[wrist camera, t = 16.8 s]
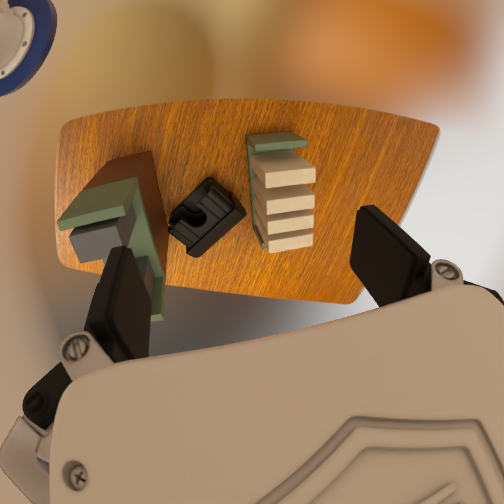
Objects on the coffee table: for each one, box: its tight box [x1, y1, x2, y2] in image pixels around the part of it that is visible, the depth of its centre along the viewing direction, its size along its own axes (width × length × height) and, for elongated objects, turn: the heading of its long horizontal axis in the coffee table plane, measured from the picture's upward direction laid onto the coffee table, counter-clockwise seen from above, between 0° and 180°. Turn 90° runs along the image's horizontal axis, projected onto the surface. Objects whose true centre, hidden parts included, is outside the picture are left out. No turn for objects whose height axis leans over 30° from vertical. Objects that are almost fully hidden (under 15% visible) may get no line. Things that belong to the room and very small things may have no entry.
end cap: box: [168, 177, 246, 258], centre depth 42 cm, size 10×7×7 cm
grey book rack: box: [57, 151, 169, 322], centre depth 33 cm, size 14×7×20 cm, turn 4°
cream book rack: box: [246, 131, 315, 253], centre depth 40 cm, size 16×7×10 cm, turn 4°
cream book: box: [251, 150, 316, 188], centre depth 37 cm, size 2×6×9 cm, turn 94°
